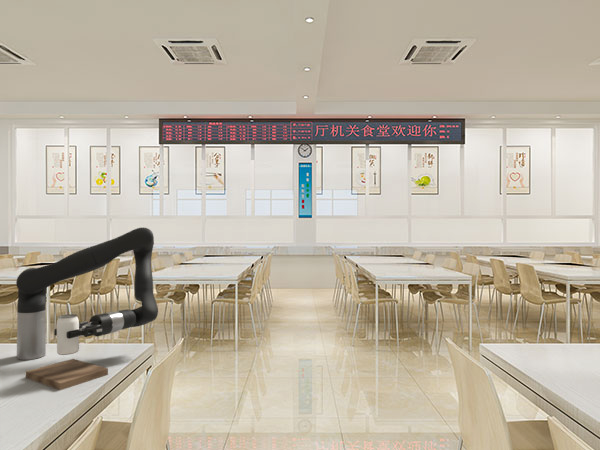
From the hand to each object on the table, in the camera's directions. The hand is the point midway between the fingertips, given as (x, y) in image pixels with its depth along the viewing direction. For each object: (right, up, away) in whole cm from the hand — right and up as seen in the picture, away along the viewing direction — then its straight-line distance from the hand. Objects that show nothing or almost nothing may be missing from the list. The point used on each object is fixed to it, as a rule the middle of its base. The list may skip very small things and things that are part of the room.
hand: (61, 333), depth 141 cm
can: (+1, -7, +2) cm, 7 cm away
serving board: (+1, -14, +2) cm, 15 cm away
